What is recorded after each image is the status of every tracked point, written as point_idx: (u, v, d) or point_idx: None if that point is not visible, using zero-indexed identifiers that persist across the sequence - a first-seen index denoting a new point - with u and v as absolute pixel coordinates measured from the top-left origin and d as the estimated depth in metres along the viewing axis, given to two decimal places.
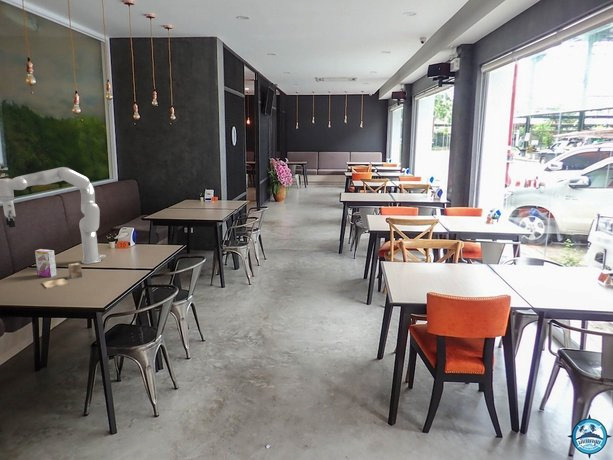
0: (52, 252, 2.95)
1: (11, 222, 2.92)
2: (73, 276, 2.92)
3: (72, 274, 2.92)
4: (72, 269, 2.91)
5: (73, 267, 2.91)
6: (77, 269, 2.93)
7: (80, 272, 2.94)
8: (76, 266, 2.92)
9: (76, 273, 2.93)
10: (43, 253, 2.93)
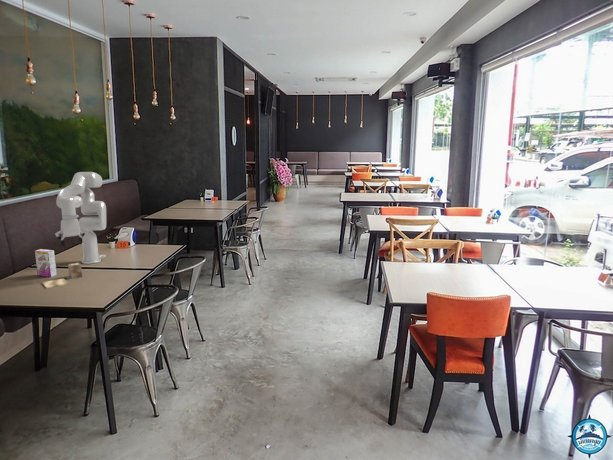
0: (52, 252, 2.95)
1: None
2: (73, 276, 2.92)
3: (72, 274, 2.92)
4: (72, 269, 2.91)
5: (73, 267, 2.91)
6: (77, 269, 2.93)
7: (80, 272, 2.94)
8: (76, 266, 2.92)
9: (76, 273, 2.93)
10: (43, 253, 2.93)
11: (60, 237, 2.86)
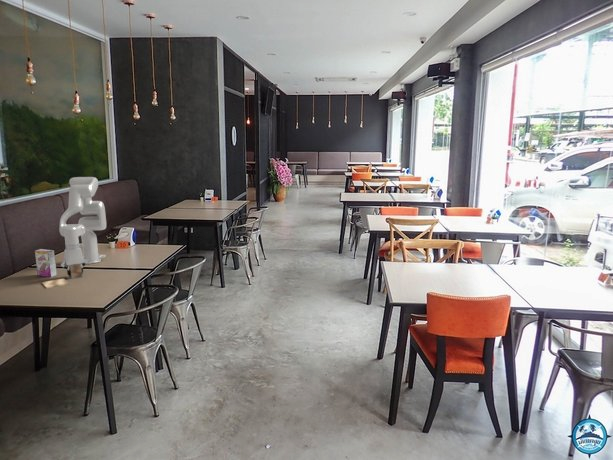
0: (52, 252, 2.95)
1: None
2: (73, 276, 2.92)
3: (72, 274, 2.92)
4: (72, 269, 2.91)
5: (73, 267, 2.91)
6: (77, 269, 2.93)
7: (80, 272, 2.94)
8: (76, 266, 2.92)
9: (76, 273, 2.93)
10: (43, 253, 2.93)
11: (66, 267, 2.91)
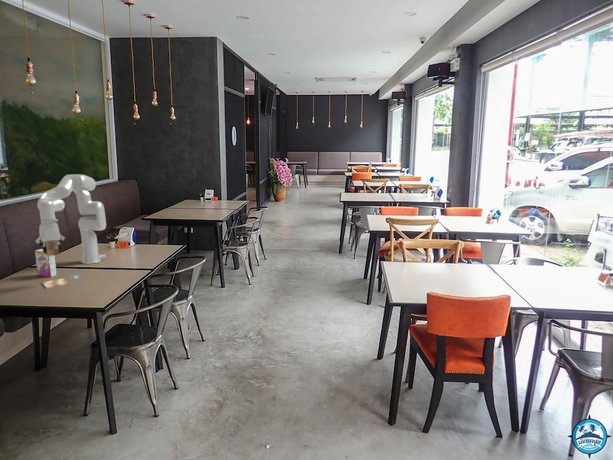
0: None
1: None
2: (49, 253, 2.75)
3: (48, 251, 2.75)
4: (48, 246, 2.74)
5: (49, 243, 2.74)
6: (53, 246, 2.76)
7: (57, 249, 2.77)
8: (52, 243, 2.75)
9: (52, 250, 2.76)
10: (43, 253, 2.93)
11: (41, 244, 2.74)
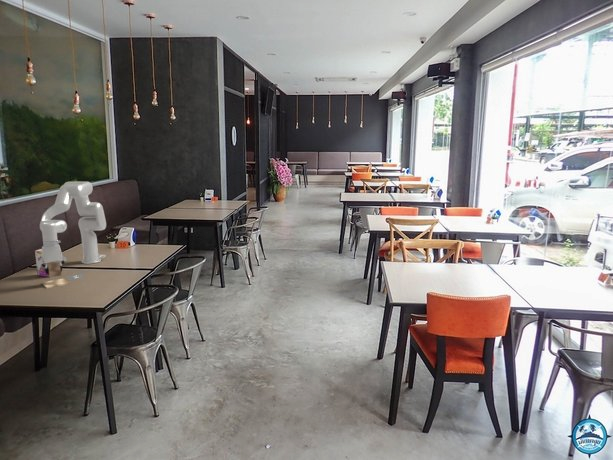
0: None
1: None
2: (51, 274, 2.78)
3: (50, 272, 2.77)
4: (50, 267, 2.77)
5: (51, 265, 2.77)
6: (55, 267, 2.78)
7: (59, 270, 2.80)
8: (54, 264, 2.78)
9: (54, 271, 2.78)
10: None
11: (43, 265, 2.76)
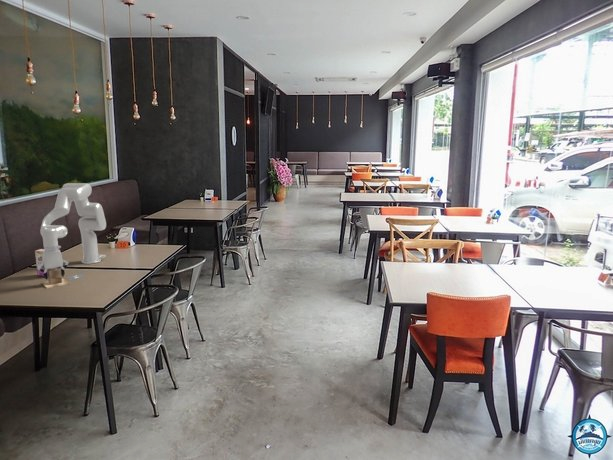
0: None
1: None
2: (52, 282, 2.79)
3: (51, 280, 2.78)
4: (51, 274, 2.78)
5: (52, 272, 2.78)
6: (56, 274, 2.79)
7: (60, 278, 2.81)
8: (55, 271, 2.79)
9: (55, 279, 2.79)
10: None
11: (42, 270, 2.76)
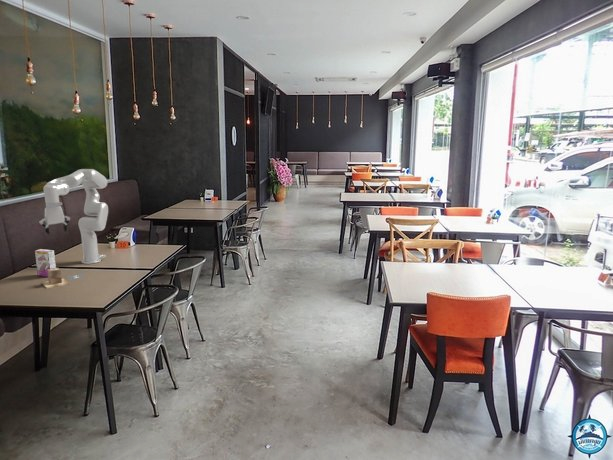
0: (52, 252, 2.95)
1: None
2: (52, 282, 2.79)
3: (51, 280, 2.78)
4: (51, 274, 2.78)
5: (52, 272, 2.78)
6: (56, 274, 2.79)
7: (60, 278, 2.81)
8: (55, 271, 2.79)
9: (55, 279, 2.79)
10: (43, 253, 2.93)
11: (44, 225, 2.88)
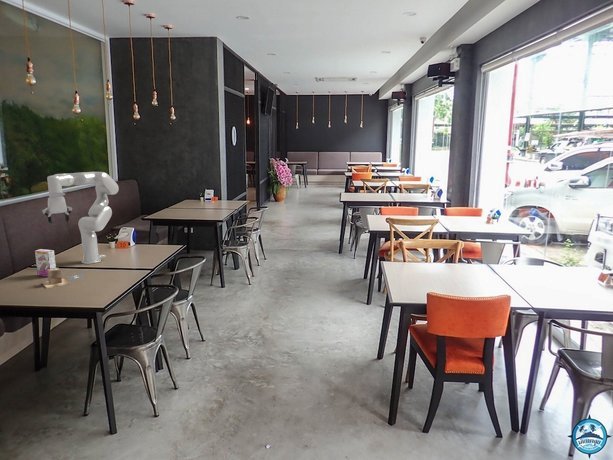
0: (52, 252, 2.95)
1: None
2: (52, 282, 2.79)
3: (51, 280, 2.78)
4: (51, 274, 2.78)
5: (52, 272, 2.78)
6: (56, 274, 2.79)
7: (60, 278, 2.81)
8: (55, 271, 2.79)
9: (55, 279, 2.79)
10: (43, 253, 2.93)
11: (47, 214, 2.98)
